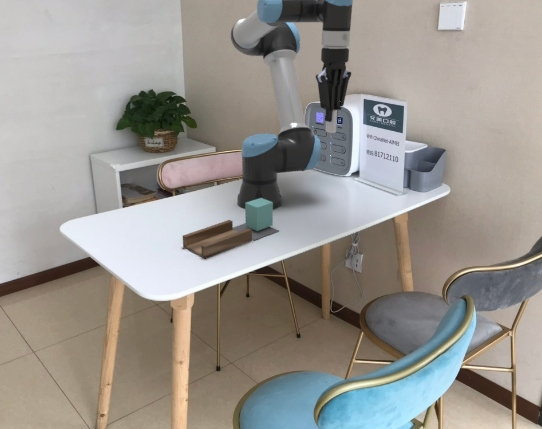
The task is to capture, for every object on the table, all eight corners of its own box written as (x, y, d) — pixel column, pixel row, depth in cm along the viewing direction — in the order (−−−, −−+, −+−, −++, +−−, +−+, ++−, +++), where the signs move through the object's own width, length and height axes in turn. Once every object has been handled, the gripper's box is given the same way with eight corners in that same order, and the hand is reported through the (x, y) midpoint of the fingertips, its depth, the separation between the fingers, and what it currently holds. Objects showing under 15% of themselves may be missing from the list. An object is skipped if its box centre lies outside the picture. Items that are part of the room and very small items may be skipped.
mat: (229, 229, 163) (229, 228, 163) (254, 220, 169) (254, 219, 169) (254, 240, 155) (254, 239, 155) (278, 231, 162) (278, 230, 162)
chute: (183, 246, 151) (182, 235, 150) (229, 230, 162) (229, 219, 161) (205, 258, 144) (204, 247, 143) (251, 240, 155) (251, 229, 154)
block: (245, 225, 163) (245, 202, 160) (260, 220, 167) (261, 197, 164) (257, 231, 159) (257, 207, 156) (272, 225, 163) (272, 202, 161)
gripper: (330, 49, 140) (325, 138, 149) (361, 46, 148) (354, 130, 157) (309, 47, 145) (305, 133, 154) (339, 44, 153) (335, 126, 162)
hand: (330, 132), depth 155 cm, fingers closed
